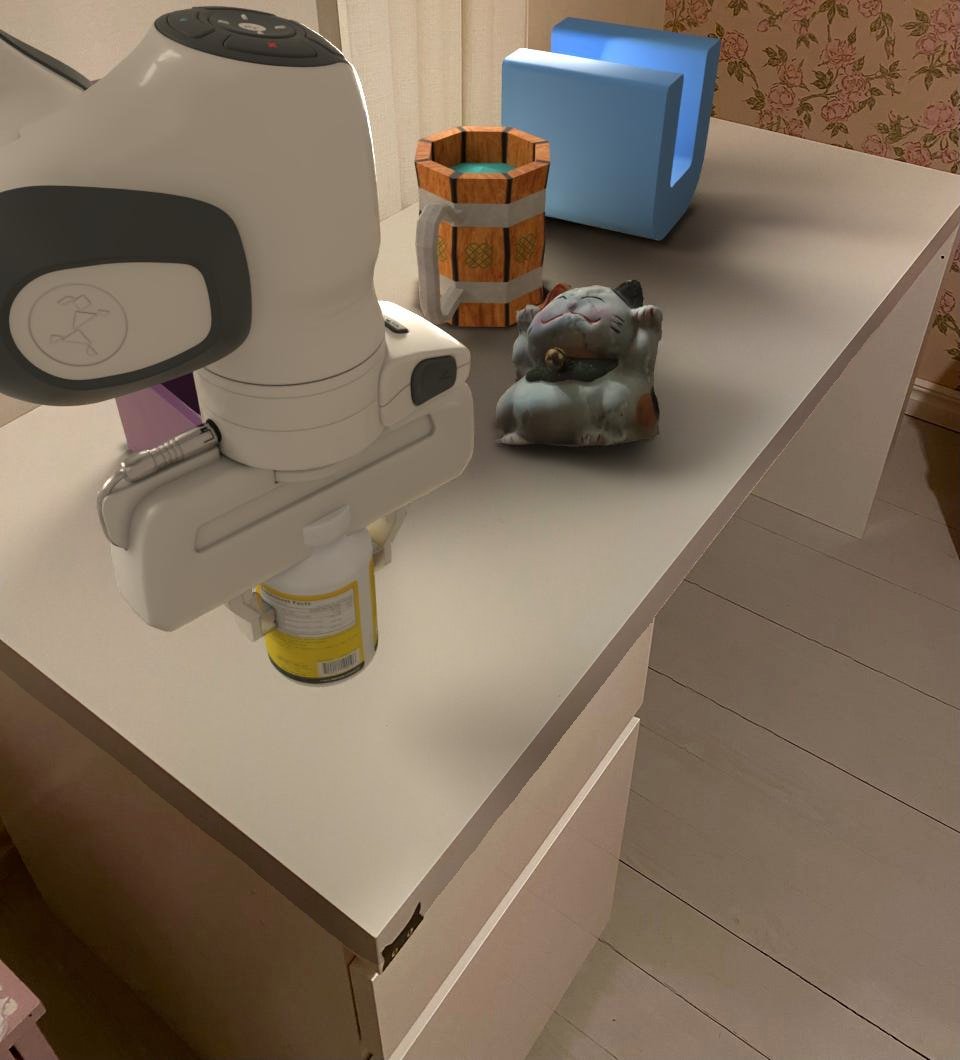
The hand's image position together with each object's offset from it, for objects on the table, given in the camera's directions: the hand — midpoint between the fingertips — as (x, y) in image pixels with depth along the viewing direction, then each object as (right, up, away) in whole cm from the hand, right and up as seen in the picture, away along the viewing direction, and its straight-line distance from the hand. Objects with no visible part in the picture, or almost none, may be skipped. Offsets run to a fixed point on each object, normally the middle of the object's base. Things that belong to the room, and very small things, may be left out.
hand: (317, 595), depth 58 cm
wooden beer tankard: (+8, +26, +47) cm, 55 cm away
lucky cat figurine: (+17, +12, +32) cm, 38 cm away
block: (+23, +41, +65) cm, 80 cm away
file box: (-9, +9, +28) cm, 31 cm away
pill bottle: (0, -4, +3) cm, 5 cm away
